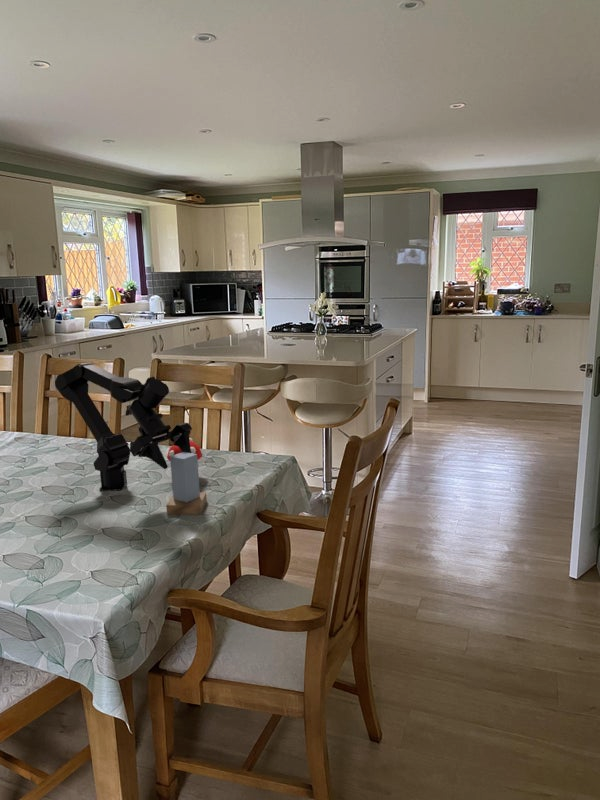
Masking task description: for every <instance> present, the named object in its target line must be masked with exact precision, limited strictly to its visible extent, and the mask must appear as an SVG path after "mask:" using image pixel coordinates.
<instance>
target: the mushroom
mask: <svg viewBox="0 0 600 800" xmlns="http://www.w3.org/2000/svg"><path fill="white" fill-rule="evenodd" d="M189 440H190V448H191V453H193V454H197V461H198V460H200V459H201V458H202V457H203V453H202V449H201V448H200V445H199V444H197V443H196V442H194V441H193V440H194V439H193V438H191V437H189ZM179 453H182V451H181V449H180V448H179V447H178V446H175V445H173V444H172V445H171V446H170V447H169V450H168V453H167V456H166V459H167V460H168V461H169V462H171V461H170V456H173V455H176V454H179ZM198 462H199V461H198ZM199 467H200V466H199V463H198V468H199Z"/></svg>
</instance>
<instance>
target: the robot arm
mask: <svg viewBox="0 0 600 800" xmlns="http://www.w3.org/2000/svg"><path fill="white" fill-rule="evenodd" d="M89 382H91V383H92V384H94V385H96V386H99V387H101V388H102V389H104V390H105V391H106V390H107V391H108V393H110V396H111V398H113V399H115V400H116V402H118V403H121V404H125V403H130V402H131V403H130V404H129V405H126V409H125V416H131V415H132V416H133V418H134V419H135V421H136V422H137V424H138V425H139V427H138V432H139V436H137V437H136V438H135V440H134V439H133V440H131V441H130V442H129V443H130V444H129V443H128V442H127V440H126V439H125V437H124V435H123V434H122V433H118V434H115V433H113V431H112V430H111V428H110V427H109V425H108V424H107V422H106V420H105V419H104V417H103V416H102V414H101V412H100V411H99V409H98V408H97V405H96V404H95V402H94V401H93V400H92V398H91V396H90V395H89V388H90V387H89ZM54 386H55V388H56V391H58V392H59V394H60V395H61V396H62V397H63V398H64V399H66V400H67V401H69V402H71V403H73V405H74V407H75V408H76V410H77V411H78V413H79V415H80V417H81V419H83V421H84V423H85V424H86V426H87V428H88V429H89V431H90V433H91V434H92V436H93V438H94V439H95V441H96V454H97V455H98V456H97V457H96V459H95V460H94V461H93V467H94V469H95V471H98V472H99V474H100V475H99V476H100V477H99V478H100V483H101V484H100V485H101V486H100V488H98V489H99V491H101V492H102V491H122V490H123V489H124V487H125V486H126V485H127V484H128V480H127V479H128V477H127V470H126V469H125V467H124V466H128V465H129V462H130V456H131V455H132V457H138V458H148V459H149V460H151V461H153V462H154V463H155V464H157V465H158V466H160V467H161V468H162V469H164V470H167V469H168V464H167V463H168V462H167V461H166V459H165V457H164V455H163V453H162V451H161V449H160V447H159V446H160V445H159V444H160V443H162V442H166V441H169V440H170V441H171V442H172V443H173V444H172V445H175V446H178V447H179V448H180V449H181V451H182V452H187V453H191V448H190V440H189V438H190V434H191V431H192V430H193V428H192V426H191V425H190V423H189V422H182V423H179V424H176V425H175V427H174V428H173V429H172V430H171V428H172V427H171V426H170V424H168V425H166V423H164V421H163V419H162V418H163V414H162V412H161V413H158V412H157V411H156V409H157V408H158V407H159V406H160V405H161V403H162V402H163V401H164V400H165V398H166V397H167V396H168V394H169V393H170V388H169V386H168V385H167V383H164V382H163V381H162V380H159V379H156V377H155V376H149V377H148V378H147V379H146V381H145V382H144V383H142V382H141V381H140V380H139V379H136V378H132V377H124V376H123V377H121V376H118V375H116V374H115V373H112V372H110V371H107V370H105V369H103V368H102V367H99V366H97V365H95V364H94V363H93V362H90V361H89V362H81V363H77V364H76V365H75V366H74V367H72V368H71V369H69V370H66V371H64V372H63V373H61V374H58V375H57V376H56V379H55V381H54ZM170 430H171V431H170Z"/></svg>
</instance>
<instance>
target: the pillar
mask: <svg viewBox="0 0 600 800" xmlns="http://www.w3.org/2000/svg"><path fill="white" fill-rule="evenodd" d="M169 462H170V472H171V482H172V483H171V484H172V485H171V486H172V495H173V499H174V500H178V501H182V502H186V503H187V502H189V501H192V500H194V499H196V498H198V497H200V492H201V491H200V478H199V467H198V464H199V461H197V454H193V453H187V452H182V453H179V454H176V455H173V456H170V461H169Z"/></svg>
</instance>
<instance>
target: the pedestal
mask: <svg viewBox="0 0 600 800" xmlns="http://www.w3.org/2000/svg"><path fill="white" fill-rule="evenodd" d="M207 501H208V500H207V492H206V491H205V492H201V491H200V497H198V498H196V499H194V500H192V501H189V502H187V503H186V502H182V501H178V500H174V499H173V494H172V495H171V497H170V498H169V501H167V504H166V514H167V515H199V514H200V515H202V512H203V511H204V508H205V506H206V504H205V503H207Z"/></svg>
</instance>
